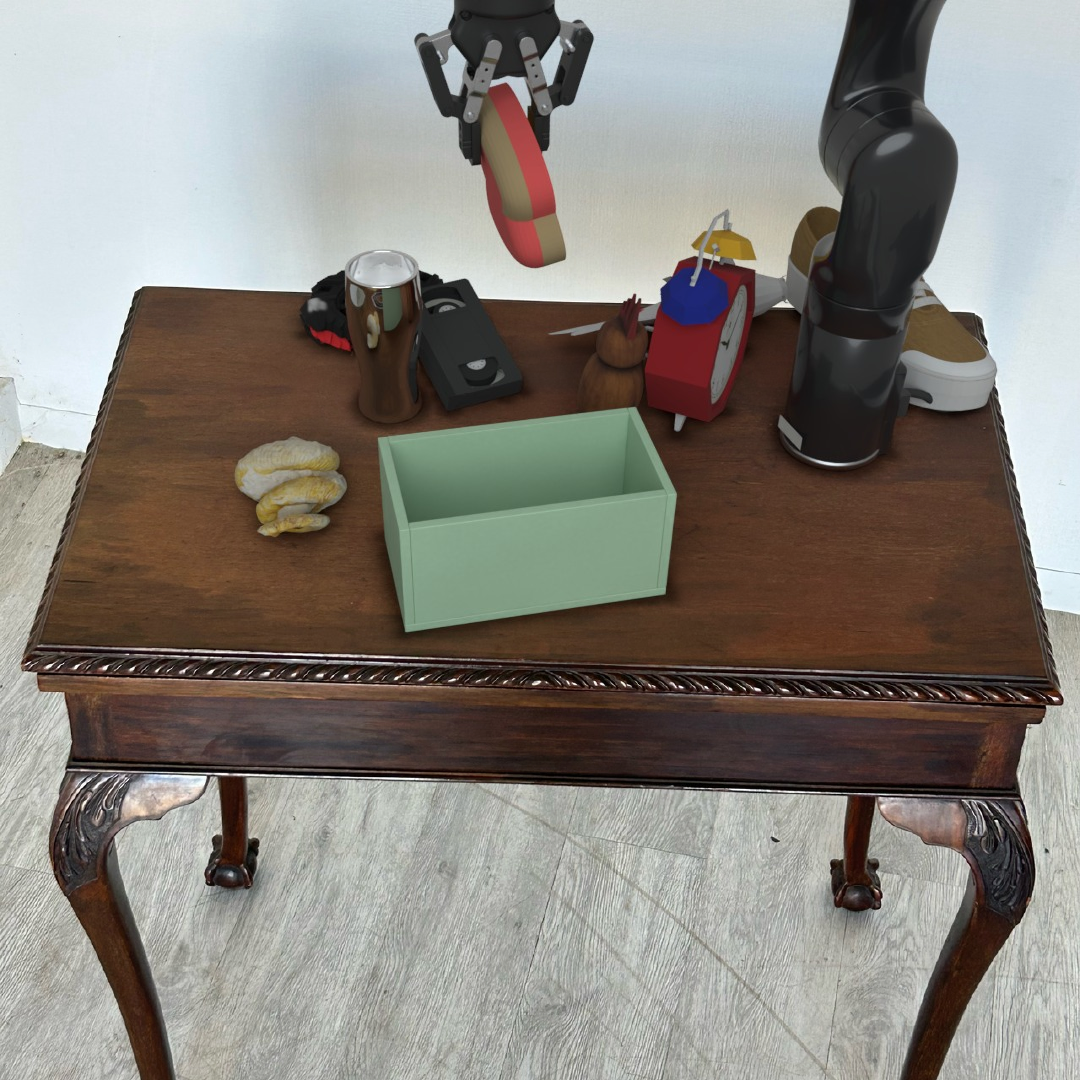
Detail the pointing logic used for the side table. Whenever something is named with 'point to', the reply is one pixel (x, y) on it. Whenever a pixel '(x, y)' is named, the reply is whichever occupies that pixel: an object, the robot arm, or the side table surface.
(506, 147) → the decorative object
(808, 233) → the sneaker
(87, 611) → the side table surface
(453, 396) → the vhs tape
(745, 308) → the alarm clock
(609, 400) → the wooden figurine
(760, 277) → the fish
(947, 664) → the side table surface
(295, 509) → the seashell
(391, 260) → the beer glass
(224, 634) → the side table surface
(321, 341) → the toy
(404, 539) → the bin
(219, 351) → the side table surface
